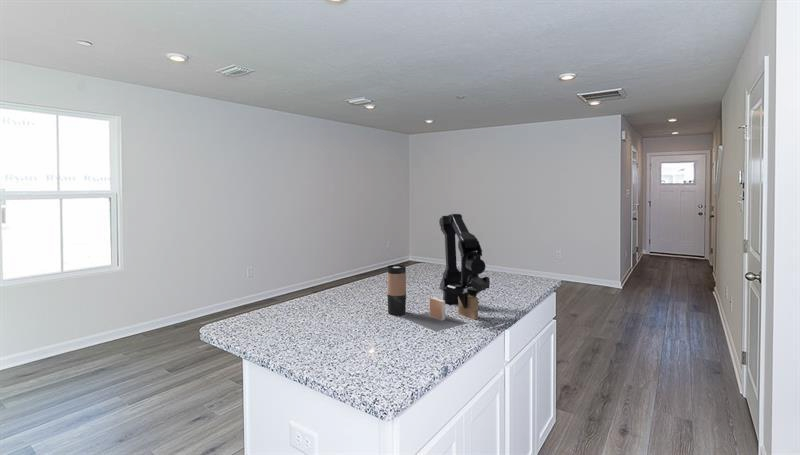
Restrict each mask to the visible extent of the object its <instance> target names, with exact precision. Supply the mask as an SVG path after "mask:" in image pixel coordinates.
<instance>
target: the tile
mask: <svg viewBox="0 0 800 455" xmlns="http://www.w3.org/2000/svg"><path fill="white" fill-rule="evenodd" d="M429 312H430V316H431V317H434V318H437V319H439V320H445V315H446V304H445V301H444V300H443V299H440V298H437V297H433V296H432V297H429Z"/></svg>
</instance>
